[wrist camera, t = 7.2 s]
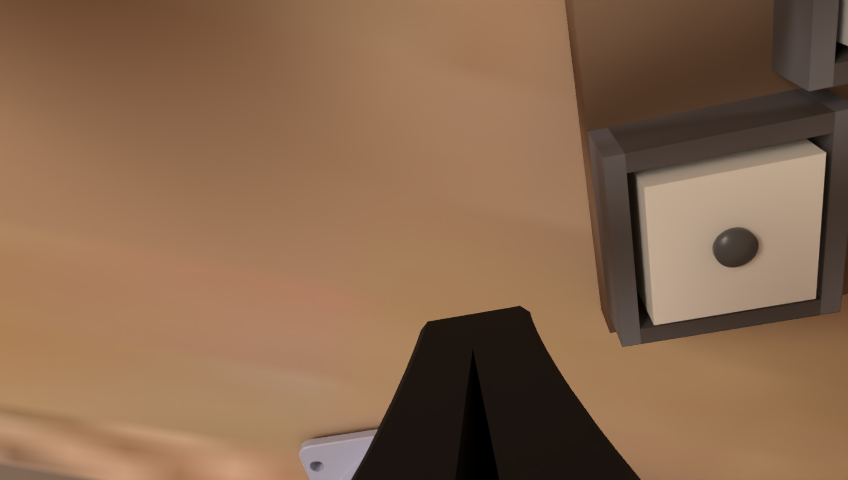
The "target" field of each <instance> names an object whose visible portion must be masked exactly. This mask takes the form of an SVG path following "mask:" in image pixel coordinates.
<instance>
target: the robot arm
mask: <svg viewBox="0 0 848 480" xmlns="http://www.w3.org/2000/svg"><path fill="white" fill-rule="evenodd" d="M299 456H300V459H301V462H302V464H303V466H304V468H305V471H306V473H307V475H308V477H309V480H641V479H640V478H639V477H638V476H637V474H636V473H635V472H634V471H633V470H632V468H631V467H630V466H629V465H628V464H627V462H626V461H625V460H624V459H623V457H622V456H621V455H620V454H619V453H618V451H617V450H616V449H615V448H614V446H613V445H612V444H611V443H610V441H609V440H608V439H607V437H606V436H605V435H604V434H603V432H602V431H601V430H600V428H599V427H598V426H597V424H596V423H595V422H594V420H593V419H592V417H591V416H590V415H589V413H588V412H587V410H586V409H585V408H584V406H583V405H582V403H581V402H580V401H579V399H578V398H577V396H576V395H575V394H574V392H573V391H572V390H571V388H570V387H569V385H568V384H567V382H566V380H565V379H564V377H563V376H562V374H561V373H560V371H559V370H558V368H557V366H556V365H555V363H554V361H553V360H552V358H551V356H550V355H549V353H548V351H547V349H546V348H545V346H544V344H543V342H542V340H541V338H540V336H539V334H538V332H537V330H536V328H535V325H534V323H533V320H532V318H531V314H530V312H529V311H527V310H526V309H524V308H523V307H521V306H517V307H511V308H505V309H499V310H493V311H487V312H482V313H476V314H470V315H464V316H458V317H452V318H446V319H440V320H435V321H429V322H427V323H426V325H425V326H424V327H423V328H422V330H421V332H420V335H419V338H418V340H417V343H416V346H415V348H414V351H413V353H412V356H411V358H410V361H409V363H408V366H407V368H406V370H405V373H404V375H403V377H402V379H401V382H400V384H399V386H398V388H397V391H396V393H395V395H394V397H393V399H392V402H391V404H390V406H389V408H388V410H387V412H386V414H385V416H384V418H383V420H382V422H381V424H380V426H379V428H378V429H375V430H368V431H362V432H355V433H349V434H342V435H336V436H329V437H323V438H316V439H310V440H307V441H305V442H304V443H302V445H301V448H300V452H299ZM314 461H319V462H321V463H316V462H314Z"/></svg>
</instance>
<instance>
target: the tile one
mask: <svg viewBox="0 0 848 480" xmlns="http://www.w3.org/2000/svg"><path fill="white" fill-rule="evenodd" d="M825 163H826V152H824V151H823V150H821V149H820V148H819V147H817V146H816V145H814V144H813V143H812V142H810V141H809V140H807V139H806V138H805V139H800V140H795V141H790V142H785V143H779V144H774V145H769V146H764V147H759V148H754V149H749V150H744V151H738V152H733V153H728V154H723V155H718V156H713V157H708V158H702V159H697V160H692V161H687V162H682V163H677V164H672V165H666V166H661V167H656V168H651V169H646V170H641V171H636V172H630V173H627V183H628V195H629V207H630V219H631V231H632V242H633V254H634V266H635V278H636V289H637V291H638V293H639V295H640V297H641V299H642V301H643V303H644V306H645V308H646V310H647V312H648V314H649V316H650V318H651V320H652V322H653V324H654V325H659V324H665V323H671V322H677V321H684V320H690V319H696V318H702V317H708V316H714V315H720V314H726V313H732V312H738V311H744V310H750V309H756V308H762V307H768V306H774V305H780V304H786V303H793V302H799V301H805V300H811V299H816V288H817V274H818V260H819V246H820V233H821V219H822V205H823V191H824V177H825Z"/></svg>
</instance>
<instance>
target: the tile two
mask: <svg viewBox="0 0 848 480" xmlns="http://www.w3.org/2000/svg"><path fill="white" fill-rule="evenodd" d="M836 41H837V42H840V43H842V44H844V45H847V46H848V0H839V8H838V22H837V35H836Z"/></svg>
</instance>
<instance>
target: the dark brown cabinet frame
mask: <svg viewBox="0 0 848 480" xmlns="http://www.w3.org/2000/svg"><path fill="white" fill-rule="evenodd" d="M565 4H566V13H567V21H568V30H569V38H570V47H571V55H572V64H573V72H574V81H575V89H576V98H577V106H578V115H579V123H580V132H581V140H582V149H583V157H584V166H585V174H586V183H587V191H588V200H589V208H590V217H591V225H592V234H593V242H594V251H595V259H596V268H597V276H598V285H599V293H600V302H601V310H602V313H603V315H604V318H605V321H606V323H607V326H608V329H609V331H610V333H613V332H617V335H618V337H619V340H620V342H621V345H622V347H626V346H632V345H638V344H644V343H650V342H656V341H663V340H669V339H675V338H681V337H687V336H693V335H700V334H706V333H712V332H718V331H724V330H730V329H737V328H743V327H749V326H755V325H761V324H767V323H774V322H780V321H786V320H792V319H798V318H804V317H811V316H817V315H823V314H829V313H835V312H840V309H841V298H842V295H843V294H848V46H847V45H844V44H842V43H840V42H837V41H836V35H837V22H838V8H839V0H565ZM805 138H806V139H807V140H809V141H810V142H812V143H813V144H814V145H816V146H817V147H819V148H820V149H821V150H823V151H824V152H826V163H825V177H824V191H823V205H822V219H821V233H820V246H819V260H818V274H817V288H816V299H811V300H805V301H799V302H793V303H786V304H780V305H774V306H768V307H762V308H756V309H750V310H744V311H738V312H732V313H726V314H720V315H714V316H708V317H702V318H696V319H690V320H684V321H677V322H671V323H665V324H659V325H654V324H653V322H652V320H651V318H650V316H649V314H648V312H647V310H646V308H645V306H644V303H643V301H642V299H641V297H640V295H639V293H638V291H637V289H636V278H635V266H634V254H633V242H632V231H631V219H630V207H629V195H628V183H627V173H630V172H636V171H641V170H646V169H651V168H656V167H661V166H666V165H672V164H677V163H682V162H687V161H692V160H697V159H702V158H708V157H713V156H718V155H723V154H728V153H733V152H738V151H744V150H749V149H754V148H759V147H764V146H769V145H774V144H779V143H785V142H790V141H795V140H800V139H805Z"/></svg>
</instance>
